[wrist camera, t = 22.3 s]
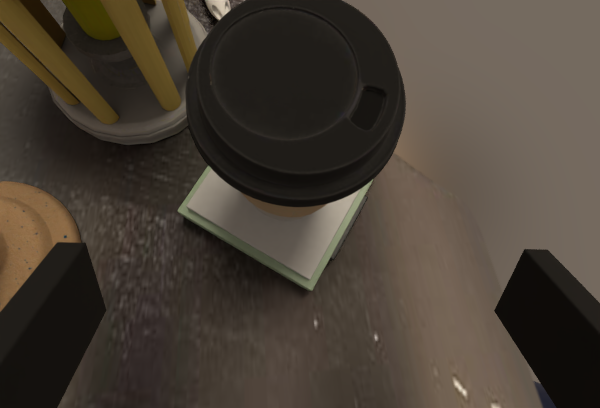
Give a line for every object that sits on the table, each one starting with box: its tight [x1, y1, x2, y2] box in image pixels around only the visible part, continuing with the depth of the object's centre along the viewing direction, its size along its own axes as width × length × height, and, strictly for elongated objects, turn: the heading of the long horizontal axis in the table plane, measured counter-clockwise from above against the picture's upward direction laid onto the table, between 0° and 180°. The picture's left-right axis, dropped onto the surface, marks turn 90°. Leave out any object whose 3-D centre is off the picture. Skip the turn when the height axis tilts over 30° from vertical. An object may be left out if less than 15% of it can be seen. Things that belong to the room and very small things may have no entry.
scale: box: [177, 165, 373, 291], centre depth 30 cm, size 12×12×3 cm
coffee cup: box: [185, 0, 406, 221], centre depth 21 cm, size 9×9×15 cm
